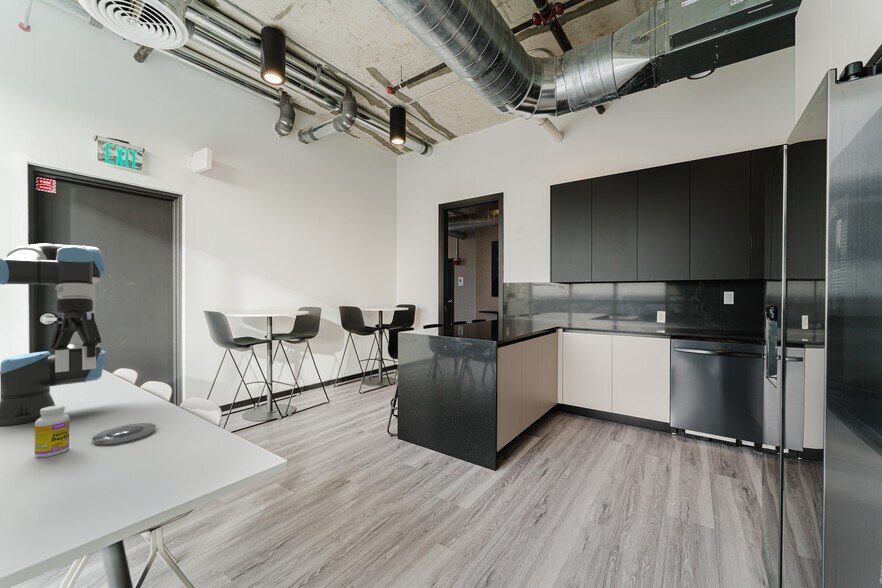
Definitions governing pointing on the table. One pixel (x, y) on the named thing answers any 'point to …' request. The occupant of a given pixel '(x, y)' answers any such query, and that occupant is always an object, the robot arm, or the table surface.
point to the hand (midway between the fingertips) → (75, 370)
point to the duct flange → (123, 434)
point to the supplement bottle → (51, 432)
